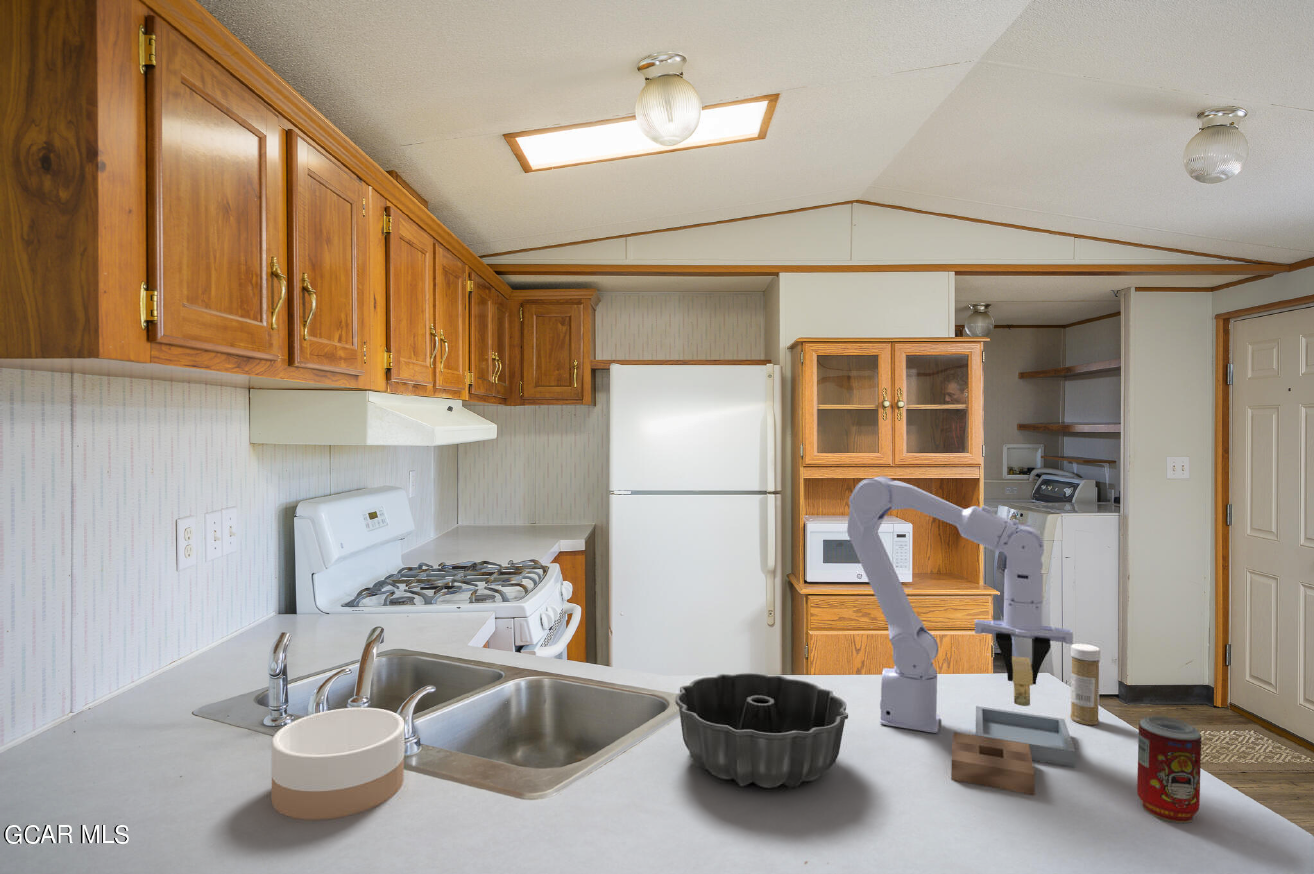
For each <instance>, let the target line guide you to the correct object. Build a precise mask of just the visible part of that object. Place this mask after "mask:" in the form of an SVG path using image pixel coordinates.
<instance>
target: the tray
mask: <svg viewBox="0 0 1314 874" xmlns="http://www.w3.org/2000/svg"><path fill="white" fill-rule="evenodd" d="M975 735H976V736H982V737H988V738H994V739H1000V740H1006V741H1012V742H1019V743H1025V744H1029V747H1030V752H1031V758H1032V761H1036V762H1040V761H1043V762H1042V763H1046V762H1048V764H1052V763H1053V765H1060V766H1064V765H1065V767H1069V768H1075V766H1076V764H1075V763H1076V750H1075V747H1074V744H1073V740H1072V738H1071V734H1070V731H1069V727H1068V726H1067V722H1066V720H1065V718H1062V717H1061V718H1060V717H1053V716H1048V715H1047V716H1046V715H1039V714H1033V713H1025V712H1020V711H1014V710H1006V709H999V708H993V707H986V706H978V705H976V706H975Z"/></svg>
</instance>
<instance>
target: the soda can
mask: <svg viewBox="0 0 1314 874" xmlns="http://www.w3.org/2000/svg"><path fill="white" fill-rule="evenodd" d="M1202 739H1203V738H1202V734H1201V733H1200V732H1199V730H1197V728H1195V727H1194V726H1192V725H1191V724H1190V723H1187V722H1186V721H1185V722H1184V721H1183V720H1180V719H1177V718H1173V717H1169V716H1163V715H1151V716H1146V717H1145V718H1142V719H1140V721H1139V722H1138V741H1137V742H1138V743H1137V779H1136V781H1137V782H1136V783H1137V785H1136V787H1137V789H1136V792H1137V796H1138V797H1139V800H1140V802H1141V804H1142V808H1143V809H1144V811H1146V813H1149V815H1151V816H1153V817H1156V818H1157V819H1161V820H1164V821H1168V822H1172V823H1177V824H1179V823H1180V824H1184V823H1187V824H1188V823H1190V822H1192V821H1193V819H1194V816H1195V815H1196V814H1197V813H1198V811H1199V810H1200V804H1201V761H1202V758H1201V757H1202Z"/></svg>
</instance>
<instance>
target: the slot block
mask: <svg viewBox="0 0 1314 874" xmlns="http://www.w3.org/2000/svg"><path fill="white" fill-rule="evenodd" d="M951 748H952V749H951V770H950V771H951V775H950V779H951V780H952V781H957V782H961V783H962V782H964V783H968V784H972V785H973V784H974V785H978V786H985V787H989V788H995V789H1000V790H1007V791H1010V792H1016V793H1021V794H1026V795H1027V794H1028V795H1031V796H1032V795H1033V796H1035V769H1034V768H1035V767H1034V763H1033V760H1032V758H1031V752H1030V747H1029V744H1025V743H1019V742H1012V741H1006V740H1000V739H994V738H988V737H982V736H976V734H975V735H974V734H969V733H961V732H957V731H953V732H952V746H951Z"/></svg>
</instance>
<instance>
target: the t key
mask: <svg viewBox="0 0 1314 874" xmlns="http://www.w3.org/2000/svg"><path fill="white" fill-rule="evenodd" d="M1031 663H1032V662H1031V660H1030V657H1024V656H1014V655H1012V672H1013V683H1012V684H1013V704H1015V705H1017V706H1022V707H1029V706H1030V705H1031V686H1034V684H1033V673H1032V667H1031Z"/></svg>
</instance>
